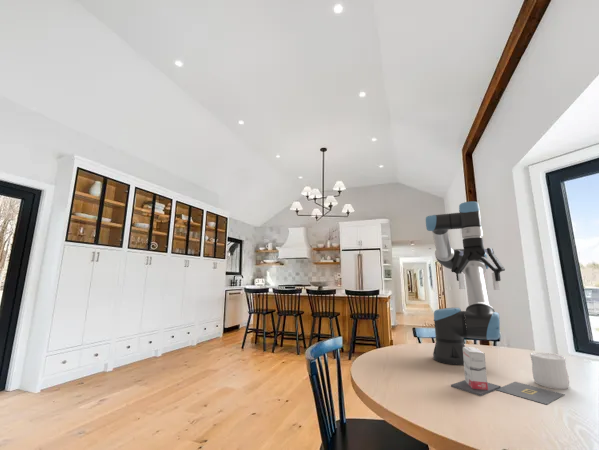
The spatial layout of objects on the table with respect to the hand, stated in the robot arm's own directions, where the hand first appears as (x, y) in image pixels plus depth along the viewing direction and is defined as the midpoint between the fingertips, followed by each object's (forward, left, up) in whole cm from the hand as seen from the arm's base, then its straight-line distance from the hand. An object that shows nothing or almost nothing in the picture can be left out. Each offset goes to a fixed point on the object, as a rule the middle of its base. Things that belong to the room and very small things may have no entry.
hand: (478, 289), depth 119 cm
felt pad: (+4, -17, -33) cm, 37 cm away
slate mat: (+16, -7, -33) cm, 37 cm away
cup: (+17, +8, -33) cm, 38 cm away
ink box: (+4, -17, -32) cm, 37 cm away
